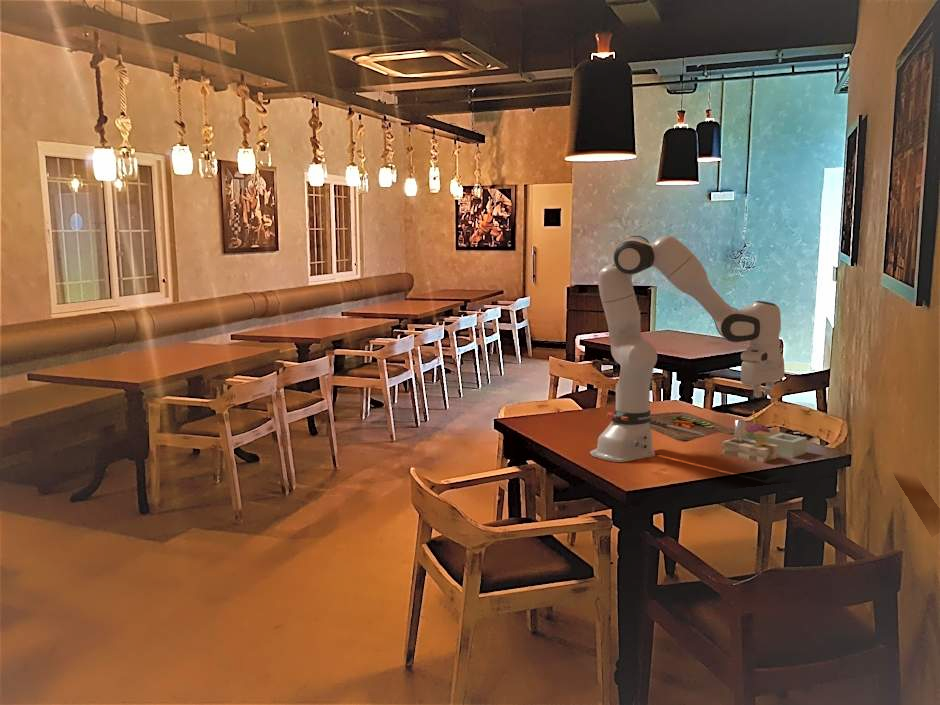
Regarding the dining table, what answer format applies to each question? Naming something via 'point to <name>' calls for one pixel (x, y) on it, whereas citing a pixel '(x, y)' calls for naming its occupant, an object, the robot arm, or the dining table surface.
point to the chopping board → (685, 426)
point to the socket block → (750, 450)
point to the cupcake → (754, 429)
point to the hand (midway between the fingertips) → (762, 396)
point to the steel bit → (739, 431)
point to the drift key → (761, 438)
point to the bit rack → (788, 444)
